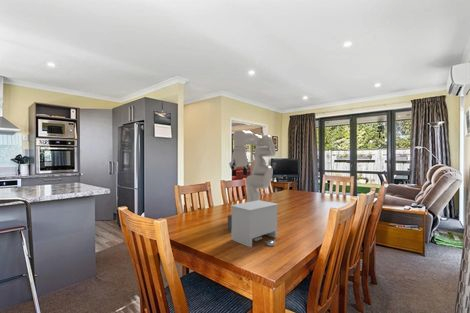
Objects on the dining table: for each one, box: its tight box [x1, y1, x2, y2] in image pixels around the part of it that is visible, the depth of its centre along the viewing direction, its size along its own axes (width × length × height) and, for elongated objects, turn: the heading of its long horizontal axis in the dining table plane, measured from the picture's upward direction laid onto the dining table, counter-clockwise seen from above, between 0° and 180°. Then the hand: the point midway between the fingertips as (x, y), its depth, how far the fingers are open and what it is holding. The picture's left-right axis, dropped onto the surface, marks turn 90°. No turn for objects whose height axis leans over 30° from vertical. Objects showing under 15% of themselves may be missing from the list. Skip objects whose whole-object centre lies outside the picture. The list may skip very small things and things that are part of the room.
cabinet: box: [230, 199, 279, 248], centre depth 129 cm, size 23×15×19 cm, turn 132°
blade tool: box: [227, 214, 263, 242], centre depth 136 cm, size 5×24×9 cm, turn 42°
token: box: [265, 239, 276, 247], centre depth 121 cm, size 5×5×2 cm
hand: (239, 175), depth 153 cm, fingers open, 9 cm apart
